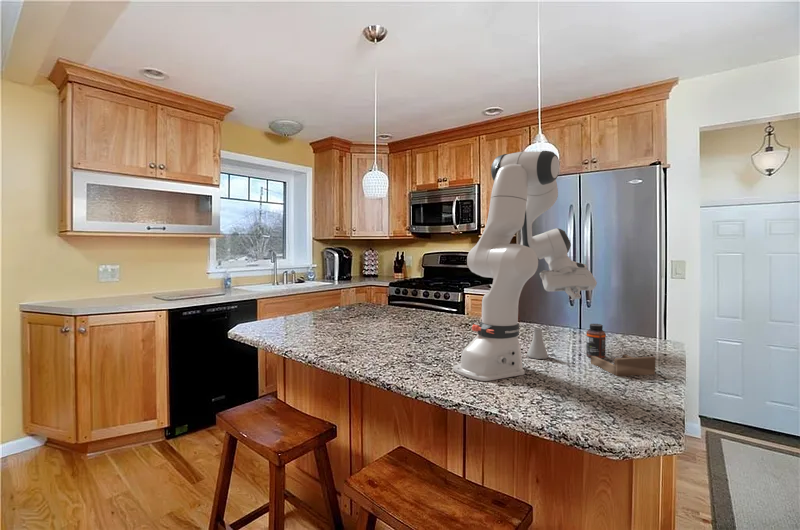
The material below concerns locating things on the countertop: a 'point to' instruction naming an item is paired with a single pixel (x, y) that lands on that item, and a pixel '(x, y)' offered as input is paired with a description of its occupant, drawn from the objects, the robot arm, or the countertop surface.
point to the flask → (537, 345)
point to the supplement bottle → (596, 341)
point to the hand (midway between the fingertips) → (576, 298)
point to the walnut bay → (627, 365)
